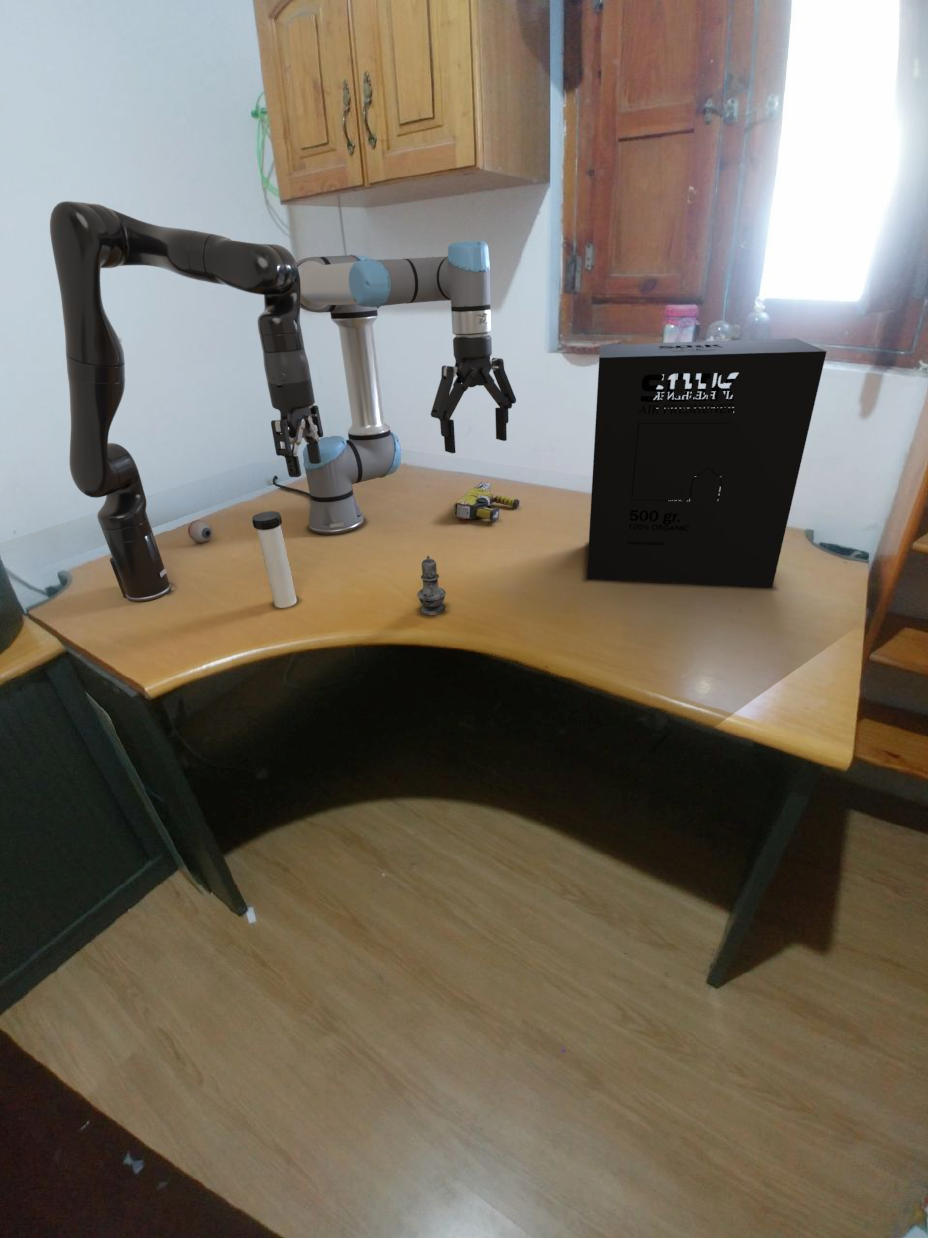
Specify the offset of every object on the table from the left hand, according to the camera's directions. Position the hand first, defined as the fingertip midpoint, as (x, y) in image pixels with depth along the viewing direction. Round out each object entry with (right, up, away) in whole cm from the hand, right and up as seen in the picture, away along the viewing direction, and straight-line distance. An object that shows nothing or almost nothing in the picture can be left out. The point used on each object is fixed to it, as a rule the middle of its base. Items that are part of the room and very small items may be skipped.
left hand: (305, 469), depth 113 cm
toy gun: (+38, +3, +61) cm, 72 cm away
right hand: (+32, +8, +14) cm, 36 cm away
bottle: (-9, -25, +17) cm, 31 cm away
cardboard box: (+77, -16, +24) cm, 82 cm away
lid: (-10, -8, +7) cm, 15 cm away
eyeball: (-41, -7, +50) cm, 65 cm away
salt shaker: (+23, -26, +11) cm, 37 cm away
